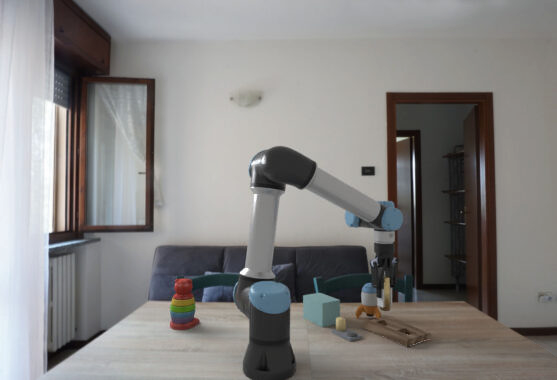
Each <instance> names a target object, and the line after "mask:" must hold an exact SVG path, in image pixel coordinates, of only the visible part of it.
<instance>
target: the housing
mask: <svg viewBox="0 0 557 380" xmlns="http://www.w3.org/2000/svg"><path fill="white" fill-rule="evenodd" d="M302 300H303V301H302V318H303V319H304V320H307V321H309V322H311V323H313V324H315V325H317V326H318V327H321V328H325V327H330V326H334V324H335V325H336V318H337V317H341V300H340V299H338V298H335V297H333V296H330V295H327V294H325V293H322V292H316V293H309V294H304V295H302Z"/></svg>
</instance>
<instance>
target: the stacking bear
mask: <svg viewBox="0 0 557 380" xmlns="http://www.w3.org/2000/svg"><path fill="white" fill-rule="evenodd" d="M174 283H175V284H174V292H175V294H173V296H172V299H171V301H170V307H169V313H170V314H169V315H170V322H169V327H170V328H171V329H173V330H176V331H177V330H178V331H180V330H181V331H182V330H189V329H192V328H195V327H196V326H198V325H199V323H201V322H200V319H199V318H198V317H195V314H196V308H197V307H196V301H195V298H194V294H193V293H192V291H193V287H194V286H193V280H192V279H191V278H176V279H175V280H174Z"/></svg>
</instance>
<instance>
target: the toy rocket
mask: <svg viewBox="0 0 557 380" xmlns="http://www.w3.org/2000/svg"><path fill="white" fill-rule="evenodd" d="M376 295H377V294H376V288H374V287H372V282H367V283H365V284H364V285H363V287H362V288H361V294H360V297H361V299H360V300H361V305H359V306H358V307H357V309H356V311H355V318H356V317H357V318H356V319H359V318H360V317H361V316H362V315H363V313H364V314H366V316H367V317H369V318H370V317H371V318H372V317H374V316H375V319H377V318H381V317H382V312H381V310H380V308H378V307H379V306H377V296H376Z"/></svg>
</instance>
